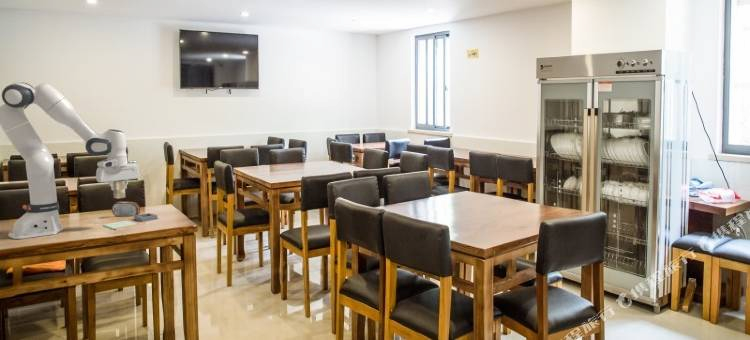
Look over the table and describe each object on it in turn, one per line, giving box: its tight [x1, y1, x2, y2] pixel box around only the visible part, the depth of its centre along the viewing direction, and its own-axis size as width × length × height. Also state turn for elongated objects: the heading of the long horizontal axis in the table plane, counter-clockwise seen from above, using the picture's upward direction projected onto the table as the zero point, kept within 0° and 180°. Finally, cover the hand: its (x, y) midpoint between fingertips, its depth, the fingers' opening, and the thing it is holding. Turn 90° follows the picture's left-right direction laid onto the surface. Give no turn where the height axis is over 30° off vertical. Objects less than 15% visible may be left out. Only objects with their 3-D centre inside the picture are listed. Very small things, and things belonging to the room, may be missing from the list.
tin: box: [111, 201, 141, 217], centre depth 297 cm, size 15×3×8 cm, turn 84°
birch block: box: [112, 180, 126, 199], centre depth 275 cm, size 4×4×8 cm
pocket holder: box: [131, 212, 160, 223], centre depth 288 cm, size 10×10×3 cm
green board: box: [102, 220, 137, 231], centre depth 276 cm, size 12×12×1 cm
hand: (119, 189), depth 275 cm, fingers closed on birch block, 4 cm apart
